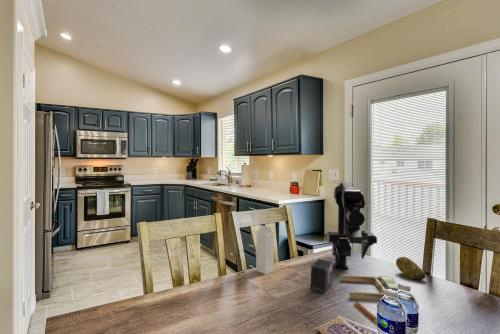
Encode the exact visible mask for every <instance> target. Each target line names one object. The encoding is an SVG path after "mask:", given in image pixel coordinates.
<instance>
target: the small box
mask: <svg viewBox="0 0 500 334" xmlns="http://www.w3.org/2000/svg"><path fill="white" fill-rule="evenodd" d="M332 275H333V261H330V260H325V259H321V258H318V259H317V260H316V261H315V262H314V263H312V265H311V266H310V285H309V286H310V288H309V289H310V291H313V292H316V293H319V294H322V295H323V294H324V295H325V294H326V292H327V291H328V290H329V289H330V287H331V286H332V280H333V279H332Z"/></svg>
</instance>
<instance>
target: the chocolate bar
mask: <svg viewBox="0 0 500 334" xmlns="http://www.w3.org/2000/svg"><path fill="white" fill-rule="evenodd" d="M353 307H355V309H357V310H358V311H359V312H360V313H362V314H363V315H364V316H365V318H367V319H368V320H369V321H371V322H372V323H373V324H378V323H377V319H378V317H377V316H375V315H374V314H373V313H372V312H370V311H369V310H368V309H367V308H365V307H364V306H363V305H362V304H361V303H360V302H358V301H357V300H355V302H354V304H353Z"/></svg>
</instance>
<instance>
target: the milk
mask: <svg viewBox="0 0 500 334" xmlns="http://www.w3.org/2000/svg"><path fill="white" fill-rule="evenodd" d="M274 233H275V232H274V231H272V230H271V227H270V226H267V225H263V224H260V228H259V229H258V230H257V231H256V246H255V247H256V249H255V250H256V253H255V254H256V255H255V256H256V257H255V259H256V260H255V271H256V272H258V273H261V274H264V275H267V274H269V273H271V272H273V271H274V247H275V246H274V242H275V241H274V240H275V239H274V235H275V234H274Z"/></svg>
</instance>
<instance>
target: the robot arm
mask: <svg viewBox="0 0 500 334" xmlns="http://www.w3.org/2000/svg"><path fill="white" fill-rule="evenodd" d="M333 199H334V201H335V204H336V205H337V206H338V207H337V209H338V210H337V231H327V233H326V239H327V240H328V242H331V244H332V246H331V255H332V256H334V262H332V266H333V268H334V269H337V270H338V269H340V270H349V267H348V265H347V263H348V261H347V260H348V259H347V257H351V256H352V249H353V247H352V246H351V244H352V245H353V244H358V245H361V248H360V251H361V253H360V255H361V256H360V257H361V259H362V260H363V259H364V258H365V255H366V253H367V251H368V249H369V248H370V247H371V246H374V244H378V238H377V236H376V235H374V233H372V232H368V230H361V228H360V227H361V226H362V225H363V224H364V223H365V220H366V218H365V216H364V214H363V213H362V212H361V209H365V206H366V201H365V195H364V194H363V192H362V191H361V190H360V189H355V188H354V187H353V185H352V183H351V182H349V181H341V182H339V185H337V186H336V187H335V188H334V190H333Z"/></svg>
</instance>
